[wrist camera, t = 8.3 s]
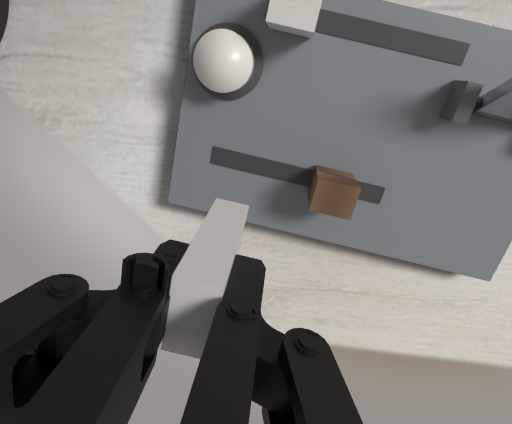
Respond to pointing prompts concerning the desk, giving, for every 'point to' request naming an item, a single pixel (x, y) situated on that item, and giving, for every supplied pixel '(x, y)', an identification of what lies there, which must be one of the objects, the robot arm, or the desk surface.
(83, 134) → the desk surface
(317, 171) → the slider
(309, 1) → the slider
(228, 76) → the button
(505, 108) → the lever
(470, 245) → the panel
